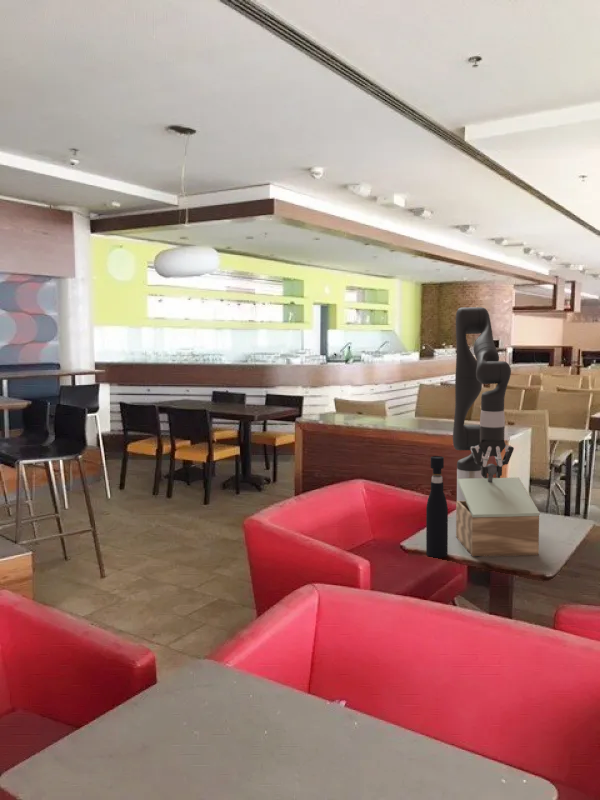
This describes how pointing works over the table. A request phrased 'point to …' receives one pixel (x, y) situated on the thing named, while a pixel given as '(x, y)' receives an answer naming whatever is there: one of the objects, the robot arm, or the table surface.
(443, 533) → the wine bottle
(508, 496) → the lid
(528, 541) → the crate
